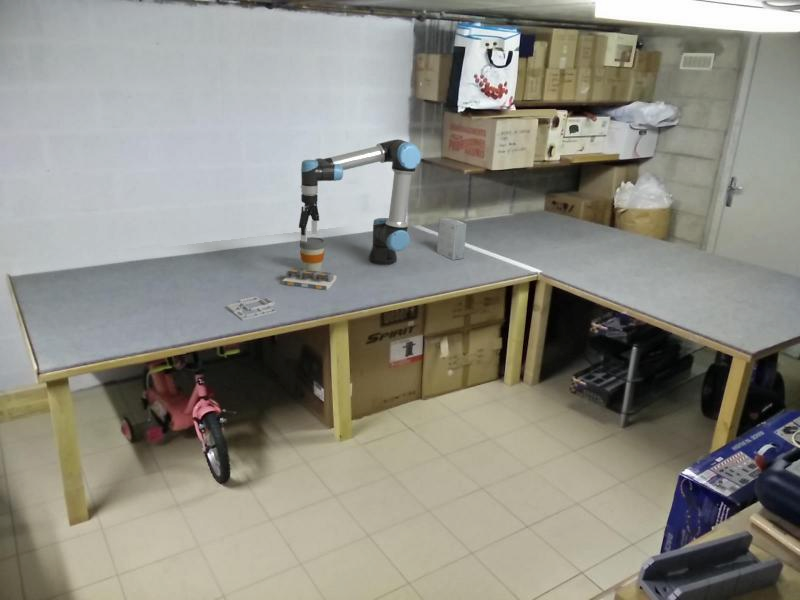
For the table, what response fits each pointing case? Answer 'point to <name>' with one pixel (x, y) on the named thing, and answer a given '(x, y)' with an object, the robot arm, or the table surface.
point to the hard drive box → (451, 238)
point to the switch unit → (309, 280)
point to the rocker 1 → (295, 271)
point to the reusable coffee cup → (312, 253)
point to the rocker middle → (309, 273)
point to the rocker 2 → (323, 274)
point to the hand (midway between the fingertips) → (309, 237)
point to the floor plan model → (239, 309)
